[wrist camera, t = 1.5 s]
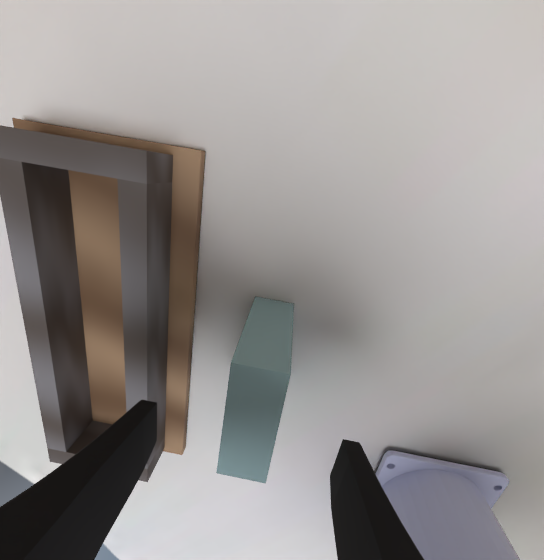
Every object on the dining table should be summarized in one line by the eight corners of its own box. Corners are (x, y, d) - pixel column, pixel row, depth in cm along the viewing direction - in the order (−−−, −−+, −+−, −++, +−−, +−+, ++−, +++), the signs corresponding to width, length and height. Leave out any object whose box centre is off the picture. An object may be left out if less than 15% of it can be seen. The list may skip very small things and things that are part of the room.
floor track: (185, 447, 21) (167, 490, 18) (67, 423, 21) (31, 461, 18) (205, 151, 13) (180, 145, 10) (24, 120, 14) (-48, 106, 11)
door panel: (276, 386, 18) (265, 483, 12) (242, 380, 18) (216, 473, 12) (293, 303, 16) (290, 374, 10) (255, 296, 16) (231, 362, 10)
